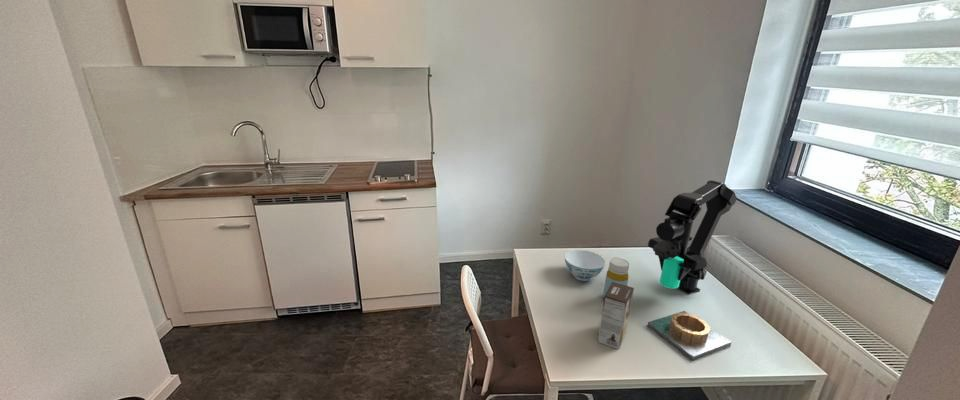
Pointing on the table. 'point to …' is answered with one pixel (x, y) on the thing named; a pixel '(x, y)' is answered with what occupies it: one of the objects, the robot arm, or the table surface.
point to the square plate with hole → (689, 335)
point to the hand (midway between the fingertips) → (671, 275)
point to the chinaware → (584, 264)
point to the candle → (671, 272)
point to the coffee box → (615, 315)
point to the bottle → (616, 273)
